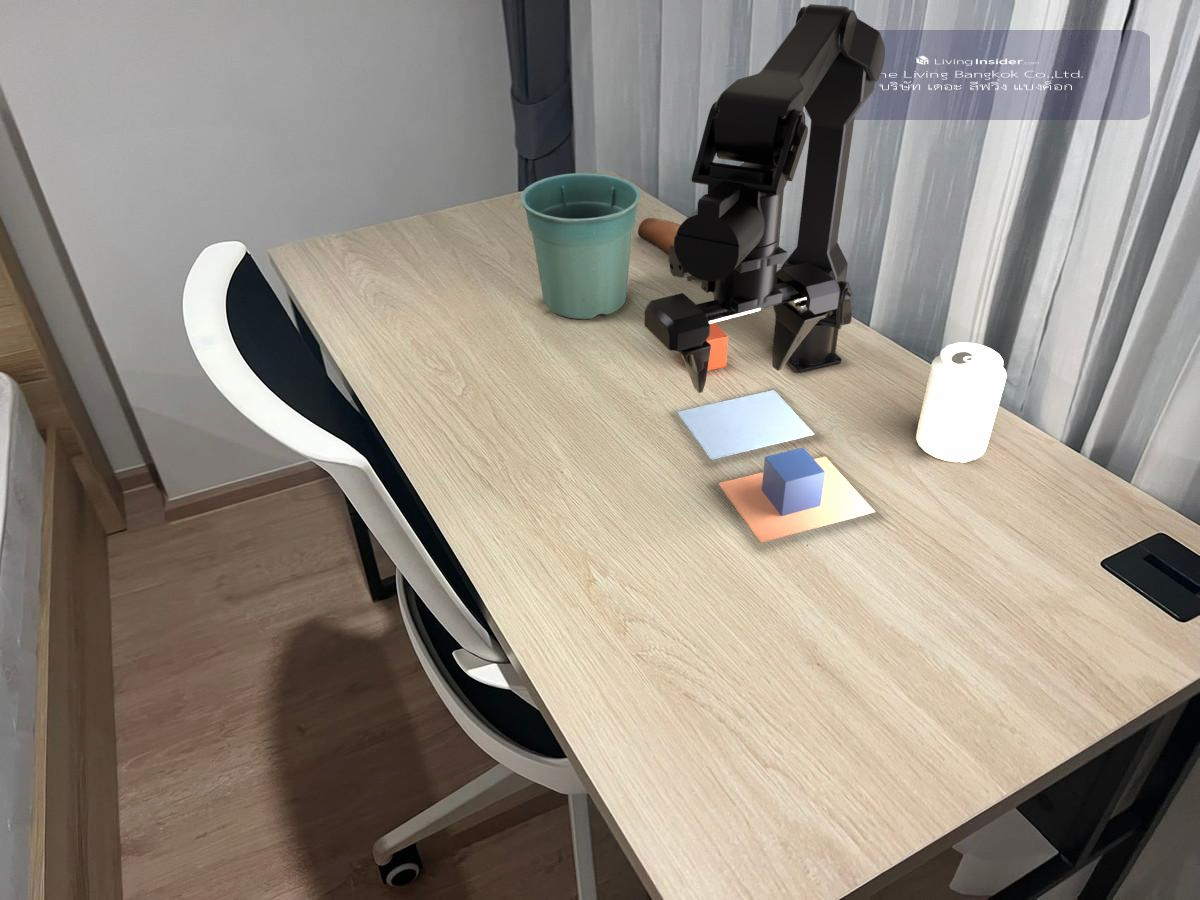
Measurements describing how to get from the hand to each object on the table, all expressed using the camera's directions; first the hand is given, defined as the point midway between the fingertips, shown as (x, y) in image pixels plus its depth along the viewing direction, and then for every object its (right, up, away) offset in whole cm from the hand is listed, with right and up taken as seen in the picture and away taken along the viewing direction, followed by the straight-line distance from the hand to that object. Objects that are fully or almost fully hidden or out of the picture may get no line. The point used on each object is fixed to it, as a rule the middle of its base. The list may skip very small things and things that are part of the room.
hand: (738, 379), depth 91 cm
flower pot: (-16, +15, +40) cm, 46 cm away
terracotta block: (-1, +4, +26) cm, 26 cm away
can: (+25, -7, +9) cm, 28 cm away
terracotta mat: (+6, -13, +3) cm, 14 cm away
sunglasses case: (0, +24, +52) cm, 57 cm away
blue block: (+6, -12, +2) cm, 14 cm away
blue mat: (+3, -5, +14) cm, 15 cm away
